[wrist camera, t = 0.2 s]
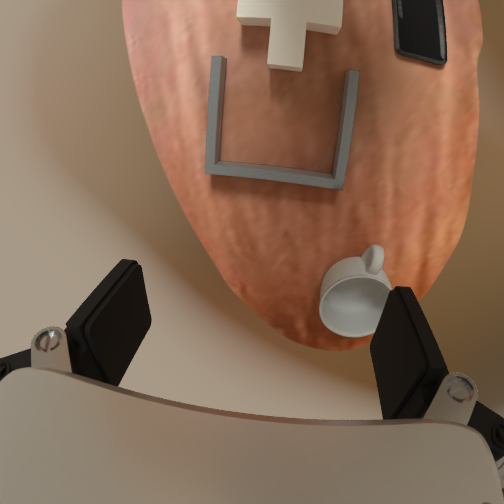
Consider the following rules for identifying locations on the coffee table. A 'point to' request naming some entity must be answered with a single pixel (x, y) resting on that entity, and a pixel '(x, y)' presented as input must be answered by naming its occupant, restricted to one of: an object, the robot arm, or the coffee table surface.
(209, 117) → the bay
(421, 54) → the phone
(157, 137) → the coffee table surface
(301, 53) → the t block
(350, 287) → the teacup
